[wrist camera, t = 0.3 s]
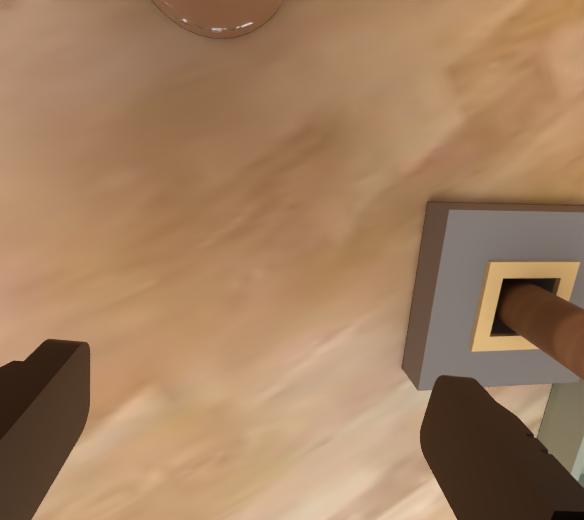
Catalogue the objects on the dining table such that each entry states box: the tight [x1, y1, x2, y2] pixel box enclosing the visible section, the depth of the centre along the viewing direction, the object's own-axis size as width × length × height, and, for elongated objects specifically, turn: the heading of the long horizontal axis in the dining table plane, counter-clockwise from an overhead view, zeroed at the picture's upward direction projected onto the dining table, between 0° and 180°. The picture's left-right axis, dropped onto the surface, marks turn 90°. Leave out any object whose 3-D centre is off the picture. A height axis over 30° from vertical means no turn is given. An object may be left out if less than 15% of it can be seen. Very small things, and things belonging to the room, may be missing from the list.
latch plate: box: [402, 202, 584, 391], centre depth 30 cm, size 14×14×3 cm
